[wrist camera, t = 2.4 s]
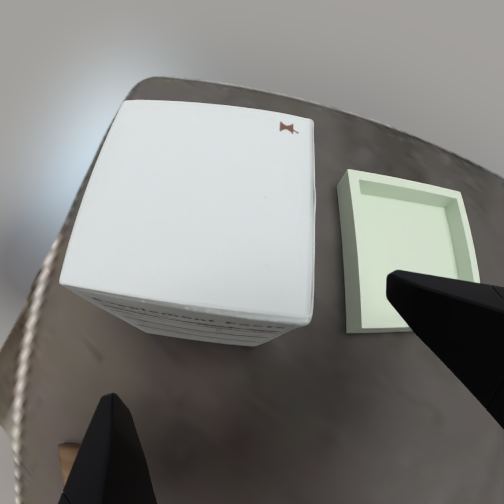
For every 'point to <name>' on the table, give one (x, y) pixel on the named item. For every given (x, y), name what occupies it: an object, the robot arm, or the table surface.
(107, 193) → the supplement box
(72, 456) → the walnut lock pin
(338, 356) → the table surface
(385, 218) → the dock tray
